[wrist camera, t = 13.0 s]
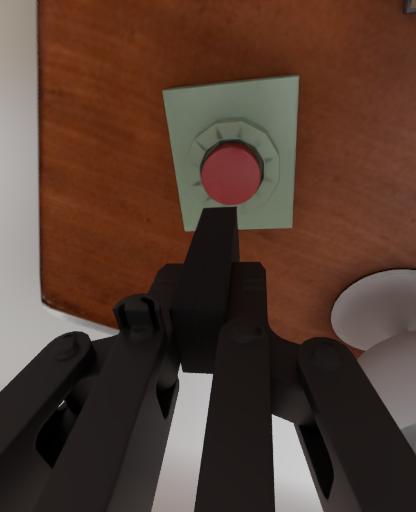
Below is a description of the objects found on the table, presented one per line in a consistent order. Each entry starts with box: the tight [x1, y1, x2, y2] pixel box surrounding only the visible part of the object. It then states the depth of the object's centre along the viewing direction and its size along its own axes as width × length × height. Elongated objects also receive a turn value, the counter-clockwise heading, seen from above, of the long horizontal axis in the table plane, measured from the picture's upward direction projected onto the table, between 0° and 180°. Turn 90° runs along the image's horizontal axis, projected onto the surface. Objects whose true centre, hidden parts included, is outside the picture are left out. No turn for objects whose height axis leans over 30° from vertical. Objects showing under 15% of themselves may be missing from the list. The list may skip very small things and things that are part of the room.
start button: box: [201, 142, 261, 205], centre depth 24 cm, size 4×4×2 cm
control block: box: [162, 74, 299, 231], centre depth 26 cm, size 12×10×4 cm
